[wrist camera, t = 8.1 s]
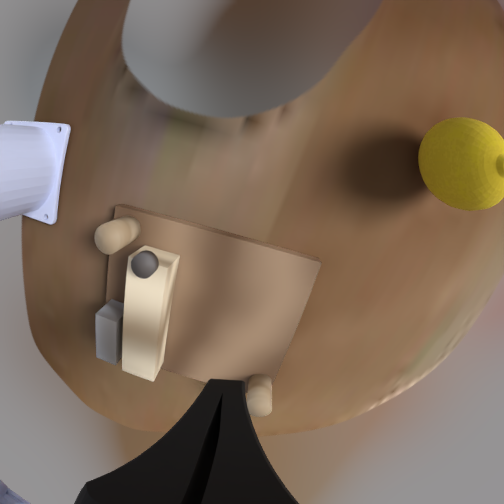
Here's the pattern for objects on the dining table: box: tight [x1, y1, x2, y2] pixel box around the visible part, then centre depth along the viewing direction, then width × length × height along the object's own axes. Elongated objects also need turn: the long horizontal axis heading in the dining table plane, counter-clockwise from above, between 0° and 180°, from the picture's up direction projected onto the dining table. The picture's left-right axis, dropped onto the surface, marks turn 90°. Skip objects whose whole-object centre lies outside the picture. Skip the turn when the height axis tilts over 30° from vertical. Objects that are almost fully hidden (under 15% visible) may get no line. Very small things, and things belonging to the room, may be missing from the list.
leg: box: [122, 245, 180, 382], centre depth 17 cm, size 10×2×3 cm, turn 165°
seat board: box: [95, 204, 321, 417], centre depth 18 cm, size 14×12×4 cm
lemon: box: [418, 117, 504, 211], centre depth 13 cm, size 6×6×8 cm
